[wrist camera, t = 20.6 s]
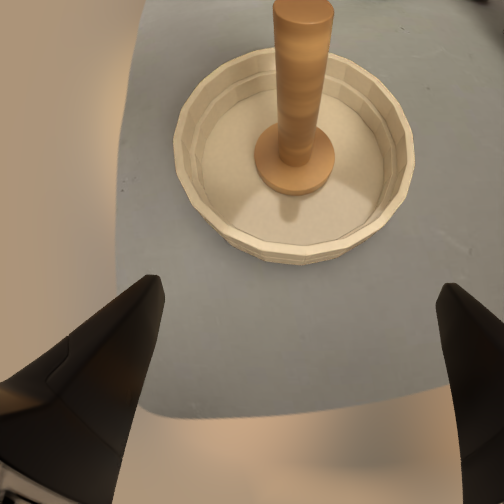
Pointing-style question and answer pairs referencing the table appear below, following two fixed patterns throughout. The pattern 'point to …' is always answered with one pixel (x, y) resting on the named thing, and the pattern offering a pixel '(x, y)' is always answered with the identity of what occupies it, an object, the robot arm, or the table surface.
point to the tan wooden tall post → (298, 100)
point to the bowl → (280, 205)
